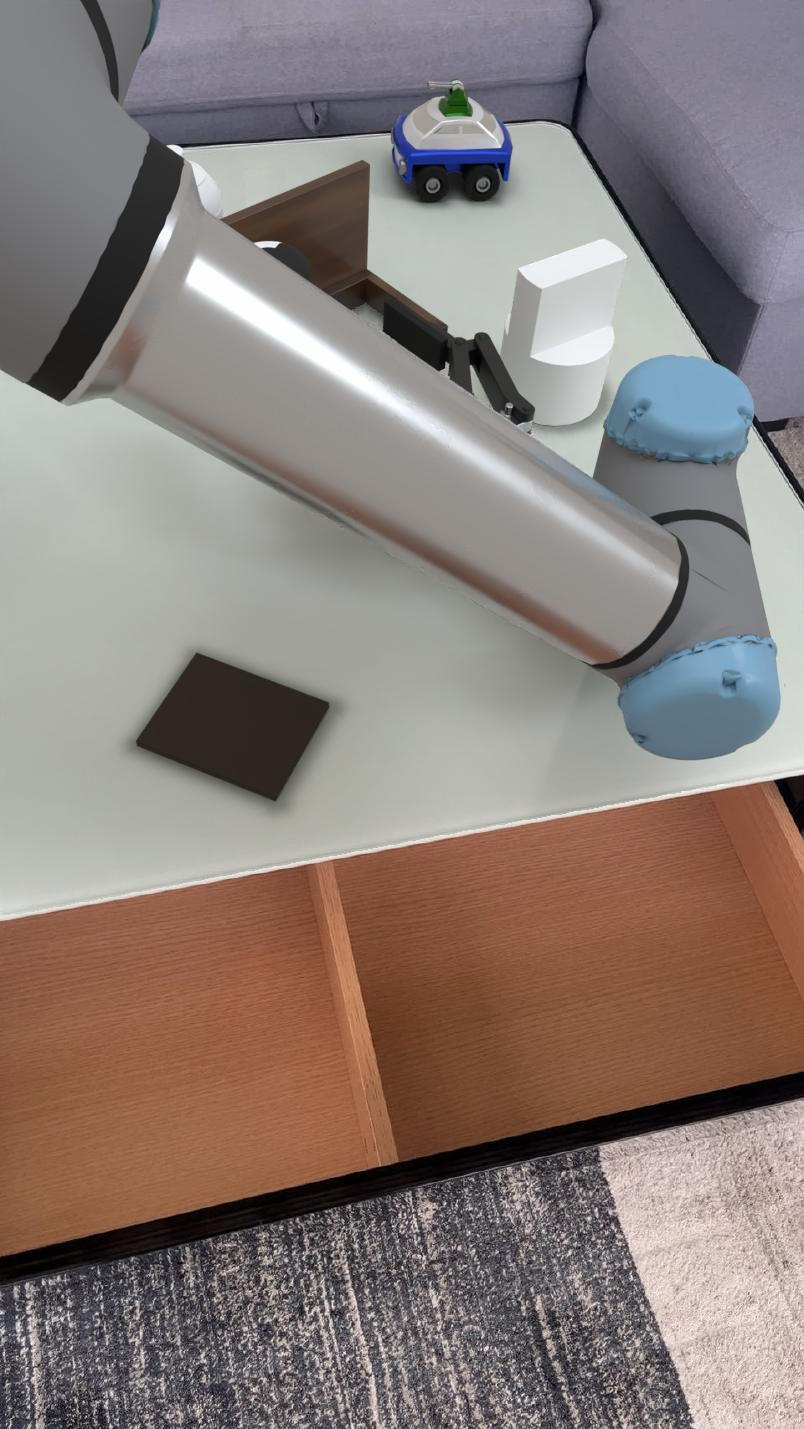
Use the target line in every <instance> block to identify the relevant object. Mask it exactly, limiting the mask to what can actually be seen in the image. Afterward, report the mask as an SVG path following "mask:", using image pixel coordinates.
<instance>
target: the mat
mask: <svg viewBox="0 0 804 1429" xmlns="http://www.w3.org/2000/svg"><path fill="white" fill-rule="evenodd" d="M329 708H330V702H329V701H326V700H324V699H321V698H318V697H316V696H314V695H311V694H308V693H305V692H304V691H303V692H302V691H300V690H298V689H295V688H292V687H289V686H288V685H287V686H286V685H284V684H281V683H279V682H276V681H273V680H271V679H269V678H266V677H263V676H260V675H258V674H255V673H253V672H251V671H250V672H249V671H247V670H244V669H242V668H240V667H236V666H234V665H232V664H229V663H226V662H223V661H221V660H218V659H215V658H213V657H210V656H208V655H205V654H202V653H199V652H195V654H194V656H193V657H192V658H191V659H190V661H189V663H188V664H187V666H186V667H185V668H184V670H183V671H182V673H181V674H180V676H179V677H178V678H177V680H176V682H175V683H174V684H173V686H172V687H171V689H170V690H169V692H168V693H167V694H166V696H165V698H164V699H163V700H162V702H161V703H160V705H159V706H158V707H157V709H156V711H155V712H154V714H153V715H152V716H151V718H150V719H149V721H148V722H147V724H146V725H145V727H144V728H143V730H142V731H141V732H140V735H138V737H137V739H136V740H135V743H136V746H137V747H139V748H142V749H144V750H147V751H149V752H151V753H154V754H156V755H159V756H162V757H163V758H167V759H169V760H171V761H174V762H177V763H178V764H181V765H184V766H186V767H189V768H191V769H194V770H196V771H199V772H201V773H204V774H206V775H209V776H212V777H215V778H217V779H218V780H221V781H224V782H226V783H229V784H232V785H233V786H236V787H239V788H242V789H244V790H247V791H249V792H252V793H254V794H256V795H259V796H261V797H264V798H267V799H268V800H272V801H274V802H276V801H277V800H278V798H279V796H280V795H281V793H282V791H283V789H284V787H285V786H286V784H287V782H288V781H289V779H290V777H291V776H292V774H293V772H294V770H295V769H296V766H297V765H298V763H299V761H300V760H301V758H302V756H303V755H304V753H305V751H306V749H307V747H308V745H309V744H310V743H311V740H312V739H313V736H315V733H316V731H317V729H318V728H319V726H320V725H321V722H322V721H323V720H324V717H325V715H326V714H327V712H328V710H329Z"/></svg>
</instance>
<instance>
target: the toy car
mask: <svg viewBox="0 0 804 1429" xmlns="http://www.w3.org/2000/svg"><path fill="white" fill-rule="evenodd" d="M426 83H427V89H429V90H436V89H445V92H444V95H443V96H442V95H441V96H436V97H433V98H431V99H430V100H428V101H425V103H423V104H421V105H419V106H418V107H416V108H414V109H413V110H412V111H411V112H410V113H409V114H400V115H397V117H396V119H395V121H394V125H393V127H391V128H390V144H391V145H392V149H391V156H392V163H393V166H394V168H395V170H396V172H397V174H398V175H399V176H400V178H401V179H402V181H404V183H405V184H412V182H413V184H414V188H415V191H416V194H417V196H418V197H419V198H420V199H421V200H422V201H424V202H427V203H435V202H438V201H440V200H442V199H443V198H445V197H446V196H447V194H448V193H449V191H450V187H451V180H450V175H449V173H459V174H461V178H462V181H463V185H464V187H465V191H466V194H467V195H468V196H469V197H470V198H471V199H472V200H475V201H477V202H484V201H487V200H490V199H491V198H493V197H495V195H496V194H497V192H498V191H499V189H500V185H501V180H502V182H508V181H509V178H510V172H511V162H512V155H513V149H514V146H513V142H512V141H513V140H512V137H511V134H510V132H509V130H508V128H507V126H506V124H505V123H503V122H502V121H501V119H500V118H499V117H497V116H496V115H495V114H494V113H491V112H490V111H488V110H487V109H485V108H484V107H483V106H482V105H480V103H478V102H477V101H475V100H474V99H472V98H471V97H469V96H468V94H467V91H465V86H464V84H463V81H462V80H460V79H458V78H453V79H451V80H450V81H435V80H427V82H426ZM446 89H447V90H446ZM498 170H499V172H498ZM499 174H500V175H499ZM500 177H501V179H500Z"/></svg>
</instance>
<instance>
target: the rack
mask: <svg viewBox="0 0 804 1429" xmlns="http://www.w3.org/2000/svg"><path fill="white" fill-rule="evenodd" d="M370 178H371V164H370V163H369V162H367V161H366V160H364V159H360V160H359V161H356V162H354V163H351V164H348V165H345V166H344V167H341V168H339V169H337V170H334V171H332V172H330V173H326V174H325V175H321V176H319V177H318V178H315V179H313V180H310V181H307V182H305V183H302V184H301V185H298V186H296V187H293V188H291V189H288V190H286V191H283V192H281V193H278V194H277V195H274V196H271V197H269V198H266V199H264V200H262V201H259V202H258V203H255V204H252V205H250V206H248V207H245V208H243V209H240V210H237V211H236V212H233V213H231V214H228V215H226V216H224V217H222V218H221V219H219V220H221V221H222V222H224V223H225V224H227V225H228V226H230V227H231V228H232V229H234V230H235V231H237V232H238V233H240V234H241V235H243V236H244V237H245V238H247V239H248V240H250V241H251V242H253V243H256V242H262V241H275V242H281V243H285V244H288V245H291V246H293V247H295V248H296V249H298V250H299V251H300V252H301V253H302V254H303V255H304V256H305V257H306V258H307V260H308V263H309V282H310V283H312V284H313V285H315V286H316V287H318V288H319V289H320V290H322V291H323V292H325V293H326V294H328V295H329V296H331V297H332V298H333V299H335V300H336V301H338V302H339V303H341V304H342V305H343V306H345V307H346V308H348V309H349V310H351V311H352V310H353V309H355V308H357V307H359V306H361V305H363V304H365V303H366V304H367V305H369V306H371V307H372V308H373V309H375V310H376V311H377V312H378V313H380V314H381V315H383V313H384V301H386V300H388V299H390V298H392V299H393V300H395V301H396V302H398V303H399V304H400V305H402V306H403V307H405V308H406V309H407V310H409V311H410V312H412V313H413V314H414V315H416V316H417V317H419V318H420V319H421V320H423V321H424V322H428V321H430V322H432V323H435V324H437V325H438V326H439V327H441V328H442V329H443V330H445V331H446V332H448V331H449V325H448V324H446V323H445V322H444V321H442V320H440V319H439V318H438V317H436V316H435V315H433V314H432V313H431V312H429V310H426V309H425V308H424V307H422V306H421V305H419V304H418V303H416V302H415V301H413V300H412V299H411V298H410V297H408V296H407V295H405V294H404V293H402V292H401V291H399V290H398V289H396V288H395V287H394V286H392V285H391V284H390V283H388V282H387V281H385V280H384V279H382V278H381V277H380V276H378V275H377V274H375V273H374V272H372V270H369V269H368V259H369V258H368V255H369V254H368V253H369V252H368V251H369V221H370V220H369V219H370V217H369V215H370V188H371V186H370V182H371V179H370ZM448 333H449V332H448ZM397 343H398V342H397ZM398 344H399V343H398ZM401 346H402V345H401ZM404 348H405V347H404ZM408 351H409V350H408Z"/></svg>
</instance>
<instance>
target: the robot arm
mask: <svg viewBox="0 0 804 1429" xmlns="http://www.w3.org/2000/svg"><path fill="white" fill-rule="evenodd" d="M161 6H162V0H0V371H2V372H4V373H5V374H6V375H8V376H10V377H12V378H13V379H15V380H16V381H18V382H20V383H22V384H25V385H27V386H29V387H31V388H32V389H34V390H37V391H38V392H40V393H42V394H43V395H46V396H48V397H49V398H51V399H53V400H55V401H57V402H58V403H60V404H62V405H64V406H66V407H71V406H76V405H79V404H83V403H87V402H90V401H94V400H98V399H110V400H111V401H113V402H115V403H117V404H119V405H120V406H122V407H124V408H126V409H128V410H130V411H132V412H133V413H135V414H137V415H138V416H140V417H142V418H144V419H146V420H148V421H150V422H152V423H153V424H154V425H156V426H158V427H161V428H162V429H164V430H166V431H167V432H169V433H171V434H173V435H175V436H176V437H179V438H180V439H182V440H184V441H185V442H187V443H189V444H190V445H193V446H194V447H196V448H198V449H200V450H201V451H203V452H204V453H207V454H208V455H210V456H212V457H214V458H216V459H217V460H219V461H222V463H225V464H226V465H228V466H230V467H232V468H233V469H236V470H237V471H239V472H241V473H242V474H245V475H246V476H249V477H250V478H251V479H253V480H255V481H257V482H259V483H261V484H262V485H264V486H266V487H268V488H270V489H272V490H274V492H277V493H279V494H280V495H282V496H284V497H286V498H287V499H290V500H291V501H293V502H295V503H297V504H299V505H300V506H302V507H304V508H305V509H307V510H309V511H311V512H313V513H314V514H316V515H319V516H320V517H322V518H323V519H325V520H326V521H329V522H331V523H333V524H334V525H336V526H338V527H339V528H341V529H343V530H345V531H347V532H349V533H350V534H352V535H354V536H356V537H358V538H359V539H362V541H365V542H367V543H368V544H370V545H372V546H374V547H375V548H377V549H379V550H381V551H383V552H385V553H386V554H388V555H390V556H392V557H393V558H395V559H397V560H399V561H401V562H402V563H404V564H406V565H408V566H409V567H410V568H411V567H412V568H413V569H415V570H416V571H419V572H420V573H422V574H423V575H425V576H427V577H430V578H431V579H433V580H435V581H436V582H438V583H440V584H442V585H444V586H446V587H447V588H449V589H450V590H453V591H455V592H456V593H458V594H460V595H462V596H464V597H465V598H467V599H469V600H471V601H472V602H474V603H476V604H478V605H479V606H481V607H483V608H485V609H487V610H488V611H489V612H492V613H494V614H496V615H498V616H499V617H501V618H502V619H505V620H507V621H509V622H510V623H512V624H514V625H515V626H517V627H519V628H520V629H523V630H525V631H527V632H528V633H530V634H531V635H534V636H535V637H536V638H539V639H540V640H543V641H544V642H546V643H547V644H549V645H551V646H553V647H554V648H556V649H558V650H560V651H562V652H564V653H566V654H567V655H569V656H571V657H573V658H574V659H577V660H578V661H579V662H581V663H583V664H585V665H587V666H588V667H590V668H591V669H593V670H594V671H596V672H598V673H600V674H602V675H603V676H605V677H607V678H609V679H610V680H612V681H613V682H614V683H616V685H617V686H618V688H619V693H618V697H617V698H616V699H617V700H616V701H617V706H618V708H619V710H621V712H622V717H623V720H624V724H625V728H626V731H627V732H628V734H629V736H630V737H631V738H632V739H633V741H634V742H633V743H635V744H636V745H637V746H638V747H639V748H641V749H642V750H645V751H646V752H648V753H650V754H652V755H655V756H657V757H660V758H665V759H670V760H676V761H702V760H709V759H715V758H720V757H723V756H727V755H730V754H733V753H735V752H736V751H738V750H739V749H740V748H742V747H744V746H747V745H750V744H753V743H755V742H756V741H758V740H760V739H761V738H762V737H763V736H764V735H765V734H766V733H767V732H768V731H769V730H770V729H771V728H772V726H773V725H774V724H775V722H776V720H777V718H778V716H779V714H780V710H781V699H782V696H781V689H780V680H779V670H778V664H777V656H778V647H777V646H778V645H777V642H775V641H774V639H773V638H772V635H771V631H770V627H769V621H768V618H767V614H766V613H767V612H766V609H765V608H766V607H765V605H764V600H763V594H762V590H761V586H760V582H759V577H758V573H757V567H756V563H755V560H754V554H753V550H752V544H751V543H752V542H751V539H750V533H749V529H748V524H747V520H746V514H745V510H744V504H743V499H742V495H741V490H740V486H739V481H738V478H737V470H738V463H739V459H740V457H741V456H742V454H744V453H746V450H747V448H748V445H749V435H750V431H751V427H752V424H753V420H754V416H755V404H754V399H753V396H752V394H751V392H750V390H749V388H748V387H747V385H746V384H745V383H744V381H742V379H741V378H740V377H739V376H737V374H735V373H734V372H732V371H731V370H730V369H729V368H727V367H725V366H723V365H721V364H719V363H716V362H714V361H712V360H709V359H706V358H703V357H700V356H694V355H690V356H684V355H676V354H664V355H660V356H655V357H652V358H648V359H646V360H643V361H641V362H639V363H637V364H636V365H635V366H633V367H632V368H631V369H629V370H628V372H627V373H626V374H625V375H624V376H623V378H622V379H621V381H620V383H619V385H618V387H617V390H616V392H615V396H614V399H613V401H612V404H611V407H610V409H609V412H608V415H606V418H605V419H604V420H603V423H602V424H603V425H602V428H603V434H602V438H601V441H600V446H599V449H598V454H597V458H596V461H595V462H596V463H595V467H594V470H593V473H592V476H590V475H588V474H587V473H586V472H585V471H583V470H582V469H580V468H579V467H577V466H575V465H574V464H573V463H572V462H570V461H569V460H567V459H566V458H564V457H563V456H561V455H560V454H559V453H557V452H556V451H554V450H553V449H551V448H550V447H549V446H547V445H545V444H544V443H542V442H541V441H540V440H539V439H537V438H536V437H534V436H533V435H531V433H532V429H533V424H534V423H533V419H534V414H535V407H534V406H533V405H532V404H531V403H530V402H528V401H527V400H526V399H525V398H524V397H523V396H522V395H521V394H519V392H518V390H517V388H516V386H515V385H514V383H513V381H512V379H511V377H510V375H509V373H508V371H507V369H506V367H505V365H504V363H503V361H502V359H501V357H500V353H499V352H498V349H497V347H496V346H495V344H494V342H493V340H492V338H491V336H490V335H489V334H488V333H487V332H483V331H479V332H476V333H475V334H474V336H473V338H471V339H466V338H464V337H462V336H456V337H455V336H453V334H451V333H449V332H446V331H445V330H443V329H442V328H441V327H439V326H438V325H437V324H435V323H432V322H430V321H428V322H424V321H423V320H421V319H420V318H419V317H417V316H416V315H414V314H413V313H412V312H410V311H409V310H407V309H406V308H405V307H403V306H402V305H400V304H399V303H398V302H396V301H395V300H393V299H392V298H390V299H388V300H386V301H384V313H383V314H382V316H383V317H382V318H383V319H382V331H381V330H380V329H378V328H377V327H375V326H373V325H372V324H371V323H370V322H368V321H367V320H366V319H364V318H363V317H361V316H360V315H358V314H357V313H355V312H354V311H352V309H351V310H349V309H348V308H346V307H345V306H343V305H342V304H341V303H339V302H338V301H336V300H335V299H333V298H332V297H331V296H329V295H328V294H326V293H325V292H323V291H322V290H320V289H319V288H318V287H316V286H315V285H313V284H312V283H310V282H309V281H307V280H306V279H305V278H303V277H302V276H300V275H299V274H297V273H296V272H294V271H293V270H292V269H290V268H289V267H287V266H286V265H284V264H283V263H281V262H280V261H279V260H277V259H276V258H274V257H273V256H271V255H270V254H269V253H267V252H266V251H264V250H263V249H261V248H260V247H258V246H257V245H256V244H254V243H253V242H251V241H250V240H248V239H247V238H245V237H244V236H243V235H241V234H240V233H238V232H237V231H235V230H234V229H232V228H231V227H230V226H228V225H227V224H225V223H224V222H222V221H221V220H219V219H218V218H217V217H215V216H214V215H212V214H211V213H209V212H208V211H207V210H206V209H205V208H204V206H203V204H202V202H201V199H200V195H199V191H198V187H197V184H196V180H195V176H194V172H193V169H192V165H191V163H190V162H188V161H187V160H188V159H186V158H183V157H181V156H180V155H179V154H177V153H176V152H174V151H173V150H172V149H170V148H169V147H167V145H166V144H164V142H161V141H160V140H159V139H157V138H156V137H155V136H153V135H152V134H151V133H149V131H147V130H146V129H145V128H143V127H142V126H141V125H140V124H139V123H137V122H136V121H135V120H134V119H133V118H131V115H129V114H128V113H127V111H126V110H124V107H123V105H124V102H125V99H126V96H127V94H128V90H129V88H130V85H131V82H132V79H133V77H134V73H135V70H136V68H137V65H138V63H139V60H140V58H141V56H142V54H143V53H144V52H145V50H146V49H147V48H148V47H149V46H150V45H151V42H152V40H153V37H154V36H155V33H156V30H157V27H158V25H159V24H158V23H159V19H160V9H161ZM398 343H399V344H398ZM401 345H402V346H401ZM404 347H405V348H404ZM408 350H409V351H408ZM447 364H448V371H447V376H446V375H444V374H443V373H442V372H441V371H443V370H445V369H446V365H447ZM471 367H472V369H473V371H474V373H475V375H476V377H477V379H478V381H479V383H480V386H481V387H482V389H483V391H484V394H485V395H486V398H487V400H488V401H489V403H490V406H491V407H490V406H489V405H488V404H486V403H485V402H483V401H482V400H481V399H479V398H478V397H477V396H475V393H474V392H473V382H472V374H471Z"/></svg>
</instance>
